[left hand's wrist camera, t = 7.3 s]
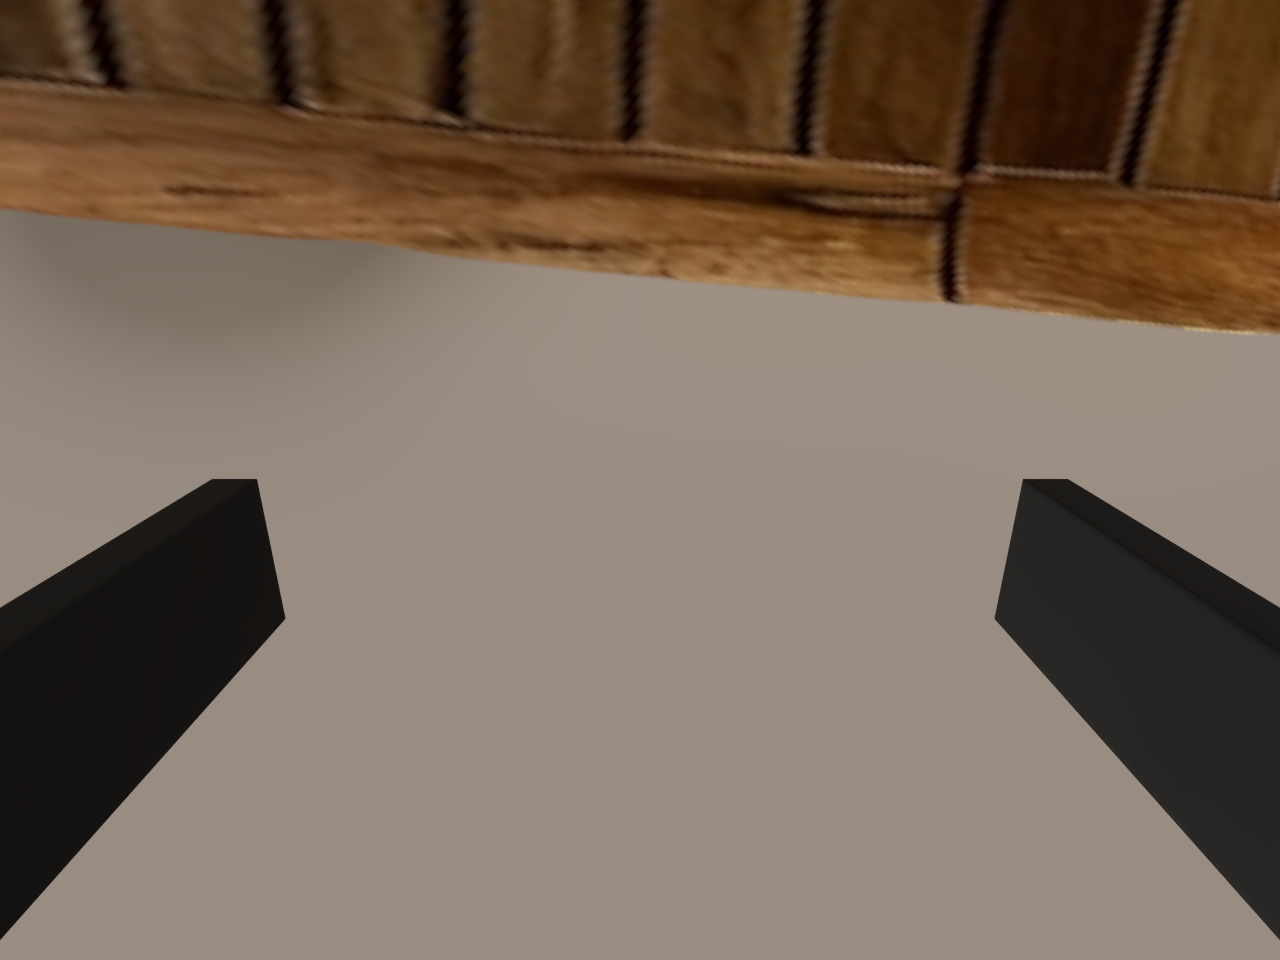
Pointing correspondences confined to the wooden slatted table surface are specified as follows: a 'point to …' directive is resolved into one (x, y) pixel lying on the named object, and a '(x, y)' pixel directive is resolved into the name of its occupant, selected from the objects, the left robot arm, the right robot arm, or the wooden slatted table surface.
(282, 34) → the wooden slatted table surface
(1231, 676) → the left robot arm
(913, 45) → the wooden slatted table surface
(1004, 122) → the wooden slatted table surface
